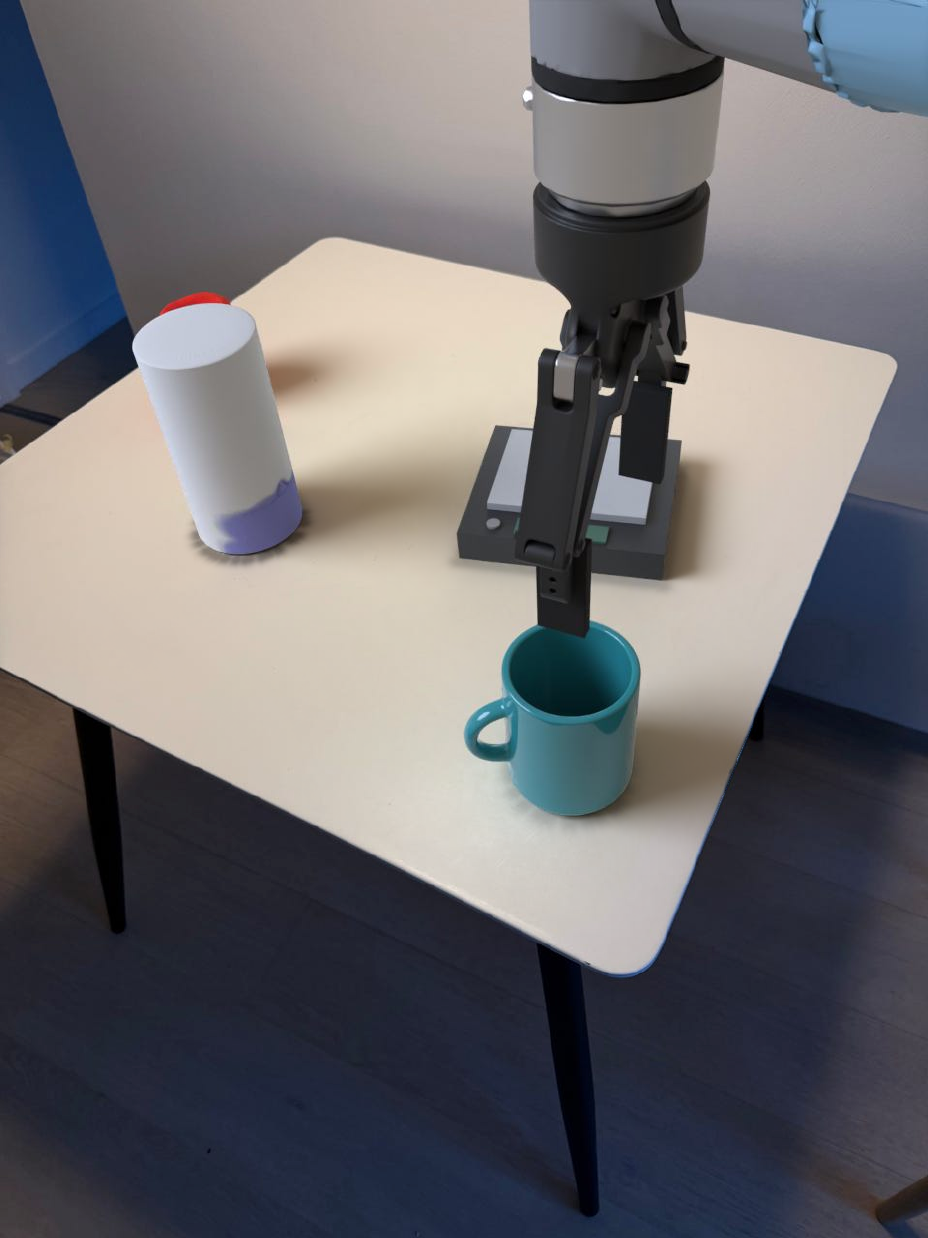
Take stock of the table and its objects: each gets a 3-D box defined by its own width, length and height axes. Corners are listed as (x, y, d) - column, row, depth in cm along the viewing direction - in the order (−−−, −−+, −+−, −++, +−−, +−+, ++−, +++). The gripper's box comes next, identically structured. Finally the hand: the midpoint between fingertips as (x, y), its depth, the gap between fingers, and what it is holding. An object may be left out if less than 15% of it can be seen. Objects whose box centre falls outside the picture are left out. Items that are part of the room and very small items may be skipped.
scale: (679, 465, 95) (682, 432, 92) (662, 580, 85) (665, 548, 82) (496, 449, 99) (494, 417, 96) (459, 558, 89) (455, 526, 86)
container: (238, 477, 99) (181, 292, 85) (322, 500, 96) (279, 312, 81) (177, 540, 93) (105, 353, 79) (264, 567, 90) (206, 376, 75)
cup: (458, 738, 75) (445, 639, 67) (611, 707, 76) (616, 605, 68) (482, 841, 69) (471, 745, 61) (649, 805, 70) (660, 706, 62)
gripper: (628, 68, 51) (613, 413, 66) (410, 310, 36) (456, 683, 51) (777, 79, 48) (724, 435, 64) (609, 345, 33) (594, 726, 49)
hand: (604, 546), depth 57 cm, fingers open, 13 cm apart
